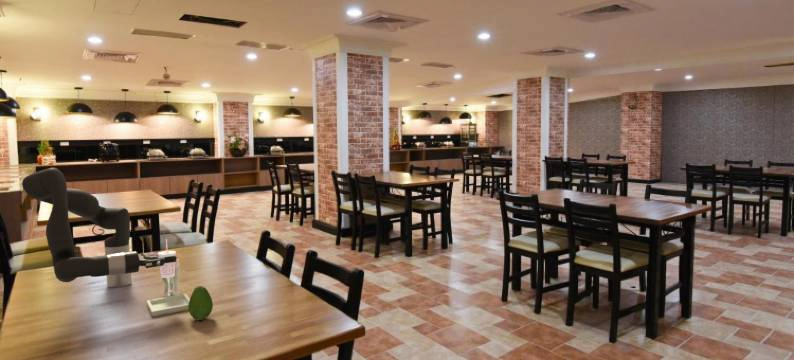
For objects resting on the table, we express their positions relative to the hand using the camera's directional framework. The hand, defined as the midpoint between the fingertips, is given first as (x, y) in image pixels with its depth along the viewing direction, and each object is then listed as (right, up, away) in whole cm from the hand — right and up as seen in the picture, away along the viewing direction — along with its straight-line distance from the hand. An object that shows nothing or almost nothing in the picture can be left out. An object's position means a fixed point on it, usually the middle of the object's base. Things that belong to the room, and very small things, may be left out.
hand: (174, 256), depth 184 cm
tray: (-2, -19, +1) cm, 19 cm away
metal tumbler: (-8, -18, +15) cm, 24 cm away
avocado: (+15, -20, -11) cm, 27 cm away
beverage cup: (-2, -7, -1) cm, 8 cm away
